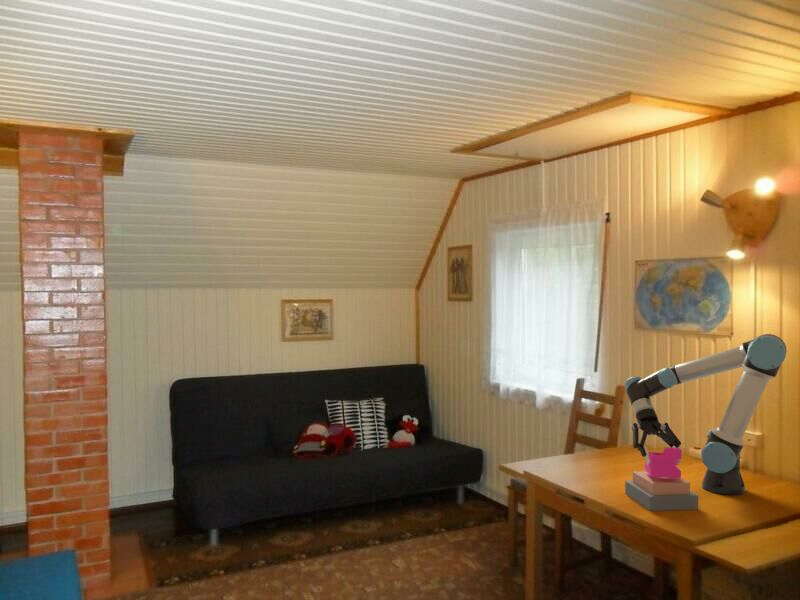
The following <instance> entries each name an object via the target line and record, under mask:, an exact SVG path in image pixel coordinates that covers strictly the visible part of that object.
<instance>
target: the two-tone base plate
mask: <svg viewBox="0 0 800 600" xmlns="http://www.w3.org/2000/svg"><path fill="white" fill-rule="evenodd" d="M624 484H625V485H624V488H625V489H624V491H625V492H624V494H625V495H626V496H628V497H629V498H630V499H632V500H633V501H635V502H636V503H638V504H640V505H641V506H642V507H644V508H645V509H646V510H648V511H650V512H656V511H658V512H660V511H685V510H686V511H687V510H688V511H690V510H691V511H693V510H699V495H698V494H697V493H695V492H693V491H691V482H689V481H688V480H685V479H684V478H682V477H681V478H666V477H651V476H650V475H649V473H648V472H647V471H645V470H643V471H642V470H641V471H632V480H625V482H624Z"/></svg>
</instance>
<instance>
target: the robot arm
mask: <svg viewBox="0 0 800 600" xmlns="http://www.w3.org/2000/svg"><path fill="white" fill-rule="evenodd" d="M786 356H787V345H786V344H785V342H784V340H783V339H782V338H781V337H779V336H778V335H775V334H771V333H766V334H761V335H759V336H757V337H755V338H753V339H751V340H748V341H745V342H742V343H741V344H740V346H738V347H734V348H730V349H727V350H723V351H721V352H717V353H713V354H709V355H706V356H703V357H699V358H696V359H693V360H689V361H685V362H682V363H679V364H675V365H672V366H669V367H668V366H667V367H663V368H661V369H659V370H658V371H656V372H654V373H652V374H650V375H648V376H646V377H644V378H641V377H640V376H634V377H632V376H631V377H629V378H627V379H626V380H625V382H624V388H625V392H626V395H627V398H628V400H629V403H630V405H631V407H632V410H633V413H634V415H635V419H636V422H637V423H636V422H634V423H632V426H631V429H632V433H633V435H632V436H633V437H632V439H633V440H632V442H633V443H632V444H633V445H632V447H633V448H634V449H637V451H639V452H640V455H641V456H642V457H643V458H644V460H645V462H646V463H647V466H649V464H650V457H649V452H650V451H648V447H647V446H646V445H645V443H646V439H647V437H648V436H651V435H653V436H657V437H658V438H660V439H661V440H662V441H664V443H666V444H667V445H668V446H669V448H680V446H681V445H682V442H681V440H680V438H678V436H677V435H676V434H675V433H674V431H673V430H672V429H671V427H670V425H669V423H668V422H665V423H661V422H660V421H659V418H658V416H657V412H656V411H655V408H654V405H653V403H652V400H651V397H654V396H656V395H657V394H659V393H662V392H664V391H666V390H668V389H671V388H672V387H674V386H677V385H681V384H683V383H686V382H690V381H695V380H698V379H702V378H706V377H710V376H714V375H716V374H721V373H724V372H727V371H731V370H736V369H739V368H743V372H742V374H741V376H740V378H739V381H738V382H737V385H736V387H735V390H734V391H733V394H732V396H731V399H730V400H729V403H728V405H727V407H726V409H725V411H724V414H723V416H722V418H721V421H720V422H719V424H718V426H717V427H716V428H713V429H709V430H708V431H707V435H706V439H707V440H706V442H705V444H704V446H703V447H702V449H701V452H700V453H701V455H700V456H701V460H702V463H703V465H704V466H705V467H706V470H705V473H704V476H703V479H702V481H701V487H702V488H703V489H704V490H705V491H707V492H712V493H714V494H720V495H721V494H722V495H730V496H733V495H736V496H737V495H743V494H744V493H745V492H746V485H745V482H744V479H743V476H742V474H741V453H742V450H743V448H744V445H745V443H744V440H743V436H744V434H745V433H746V430H747V428H748V425H749V423H750V422H751V419H752V417H753V415H754V414H755V411H756V409H757V406H758V404H759V403H760V400H761V398H762V396H763V393H764V392H765V389H766V387H767V384H768V383H769V381H770V380H772V379H774V378H777V375H778V373H779V370H780V368H781V367H782V364H783V363H784V361H785V360H786ZM639 429H640V430H641V431H642V435H641V439H640V441H639V436H640V435H639V433H640V432H639ZM681 463H682V458H681V459H676V466H679V465H680V464H681Z"/></svg>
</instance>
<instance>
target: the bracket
mask: <svg viewBox="0 0 800 600" xmlns="http://www.w3.org/2000/svg"><path fill="white" fill-rule="evenodd" d="M682 451H683V450H682V449H681V448H680V447H678V448H671V447H664V448H663V452H660V451H659V452H658V451H657V452H656V451H648V452H649V457H650V464H649V466H647V463H646V461H645V462H644V465H643V467H644V471H645V470H646V471H647V472H648V473H649V475H650V476H651V477H666V478H682V471H681V469H680V468H679V467H678V465H676V459H681V460H682Z"/></svg>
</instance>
